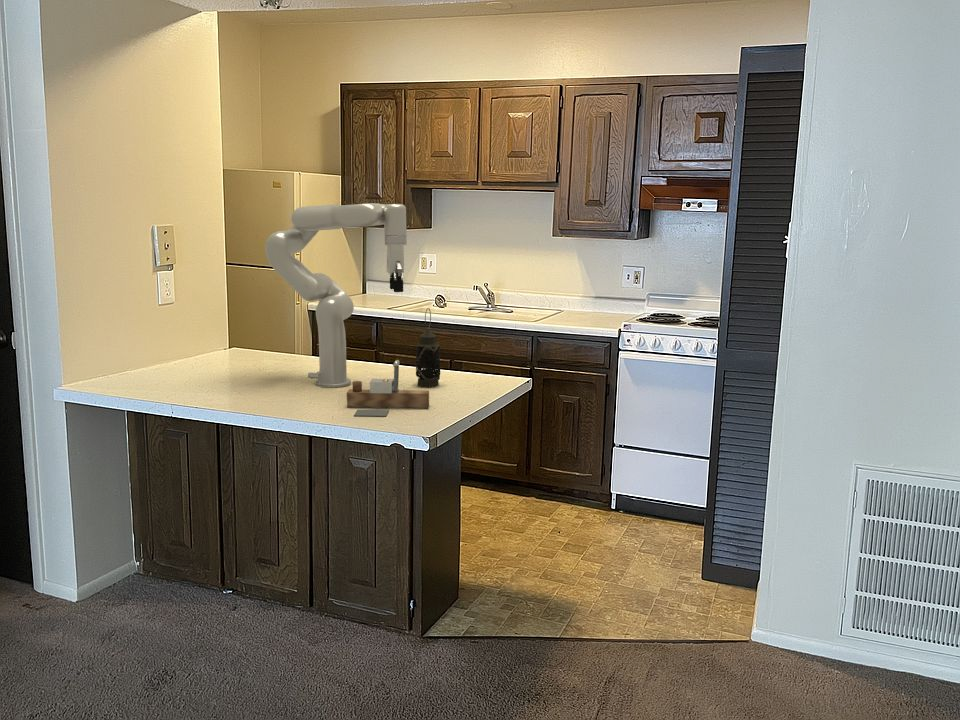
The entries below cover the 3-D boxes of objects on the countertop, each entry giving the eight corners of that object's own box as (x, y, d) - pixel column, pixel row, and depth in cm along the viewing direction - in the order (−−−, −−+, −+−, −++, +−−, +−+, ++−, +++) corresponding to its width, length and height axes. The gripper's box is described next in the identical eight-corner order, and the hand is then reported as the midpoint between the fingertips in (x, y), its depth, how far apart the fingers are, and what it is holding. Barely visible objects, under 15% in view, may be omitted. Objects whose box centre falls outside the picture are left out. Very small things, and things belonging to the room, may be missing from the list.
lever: (392, 391, 272) (393, 362, 270) (394, 388, 276) (395, 359, 274) (397, 392, 272) (398, 362, 270) (399, 388, 276) (400, 359, 274)
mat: (353, 416, 262) (353, 415, 262) (357, 410, 269) (357, 409, 269) (386, 417, 262) (386, 415, 262) (389, 411, 269) (389, 410, 269)
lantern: (436, 389, 300) (436, 310, 295) (411, 387, 302) (411, 309, 296) (443, 383, 309) (443, 306, 304) (419, 381, 311) (418, 305, 306)
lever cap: (370, 393, 272) (369, 381, 271) (372, 389, 277) (372, 377, 276) (391, 393, 271) (391, 381, 271) (393, 389, 276) (393, 378, 276)
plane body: (347, 407, 273) (346, 383, 272) (349, 404, 277) (349, 380, 276) (428, 408, 272) (427, 384, 271) (429, 405, 277) (429, 381, 275)
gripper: (381, 239, 299) (382, 288, 302) (388, 242, 282) (389, 293, 285) (402, 239, 300) (403, 287, 304) (410, 241, 284) (411, 293, 287)
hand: (396, 290), depth 295 cm, fingers open, 9 cm apart
